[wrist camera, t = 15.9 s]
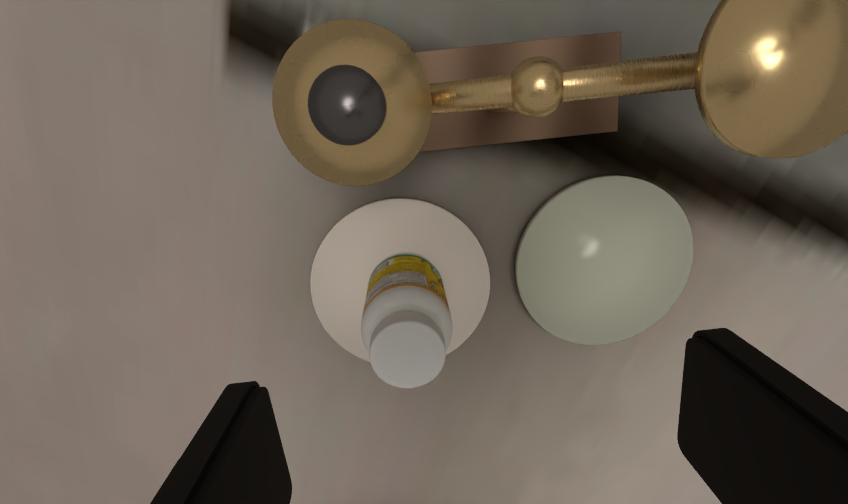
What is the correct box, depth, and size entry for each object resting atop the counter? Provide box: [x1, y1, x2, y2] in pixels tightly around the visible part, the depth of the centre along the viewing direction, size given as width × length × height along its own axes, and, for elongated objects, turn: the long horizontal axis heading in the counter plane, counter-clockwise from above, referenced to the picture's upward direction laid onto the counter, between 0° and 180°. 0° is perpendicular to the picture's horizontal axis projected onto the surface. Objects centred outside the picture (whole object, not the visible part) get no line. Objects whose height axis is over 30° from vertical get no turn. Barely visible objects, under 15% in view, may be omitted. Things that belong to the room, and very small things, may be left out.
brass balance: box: [273, 0, 848, 186], centre depth 23 cm, size 23×7×15 cm, turn 96°
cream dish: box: [310, 197, 490, 362], centre depth 33 cm, size 13×13×1 cm
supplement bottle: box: [361, 253, 453, 388], centre depth 27 cm, size 5×5×10 cm
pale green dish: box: [515, 175, 694, 345], centre depth 33 cm, size 13×13×1 cm
